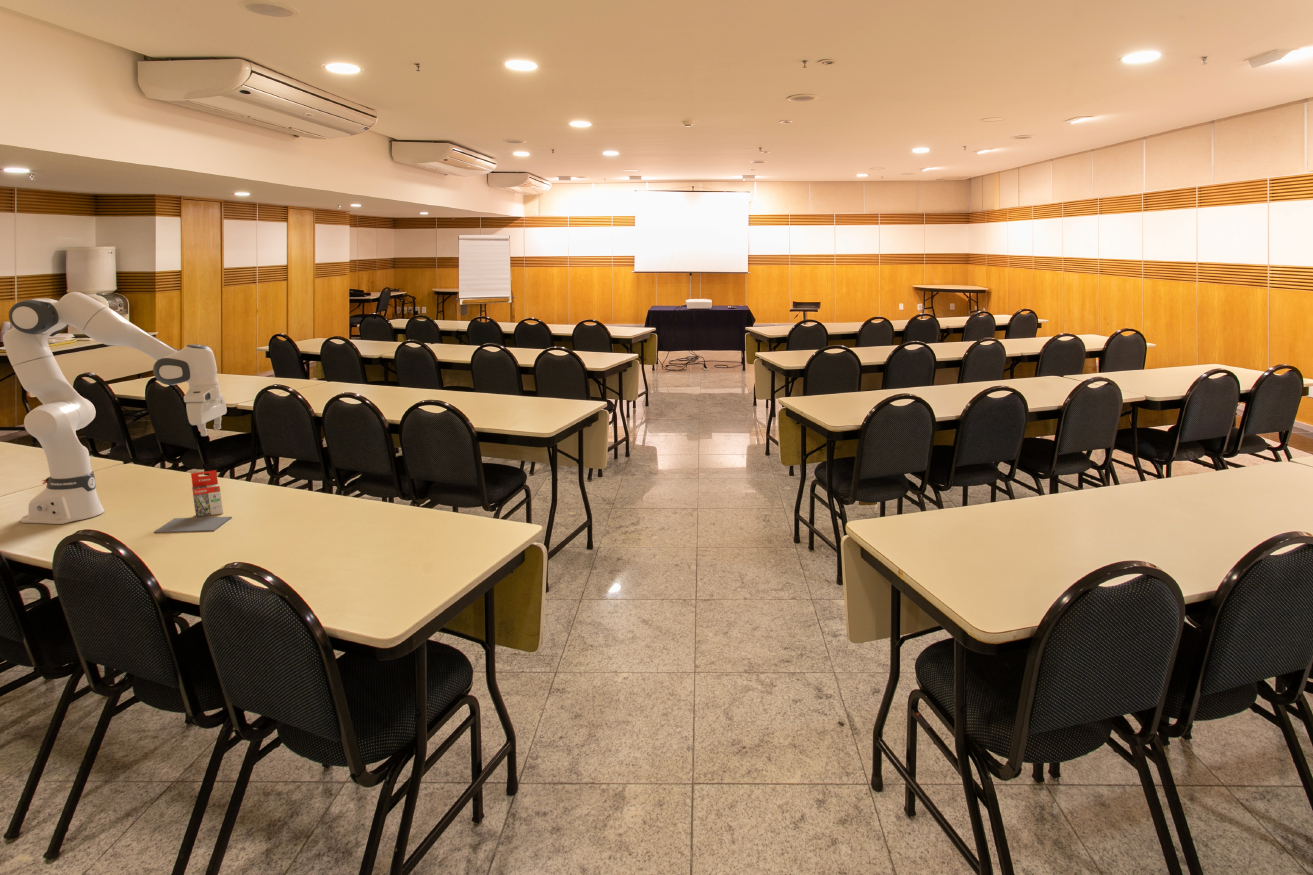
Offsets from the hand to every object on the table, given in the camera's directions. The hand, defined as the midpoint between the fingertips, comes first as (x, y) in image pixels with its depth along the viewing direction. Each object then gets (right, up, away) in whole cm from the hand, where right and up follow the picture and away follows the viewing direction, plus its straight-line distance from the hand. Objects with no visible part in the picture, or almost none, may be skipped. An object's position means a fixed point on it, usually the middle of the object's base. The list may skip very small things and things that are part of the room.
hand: (211, 432), depth 261 cm
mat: (+2, -30, -13) cm, 33 cm away
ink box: (+1, -28, -3) cm, 28 cm away
